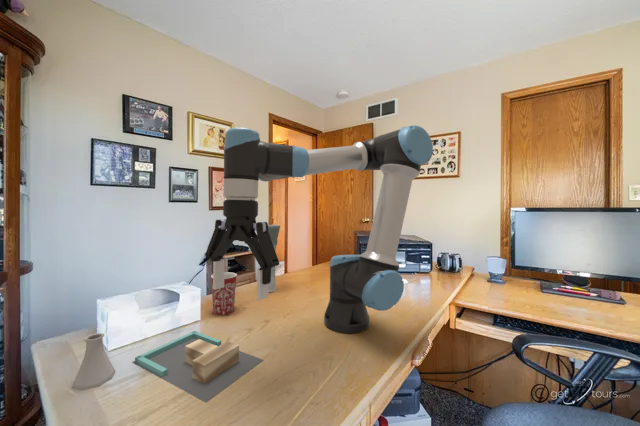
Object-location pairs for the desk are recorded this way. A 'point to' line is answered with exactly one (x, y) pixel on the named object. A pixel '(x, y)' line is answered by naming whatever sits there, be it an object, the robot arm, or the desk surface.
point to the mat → (179, 373)
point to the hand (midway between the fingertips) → (239, 293)
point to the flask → (94, 365)
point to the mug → (224, 295)
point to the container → (273, 234)
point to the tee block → (210, 358)
